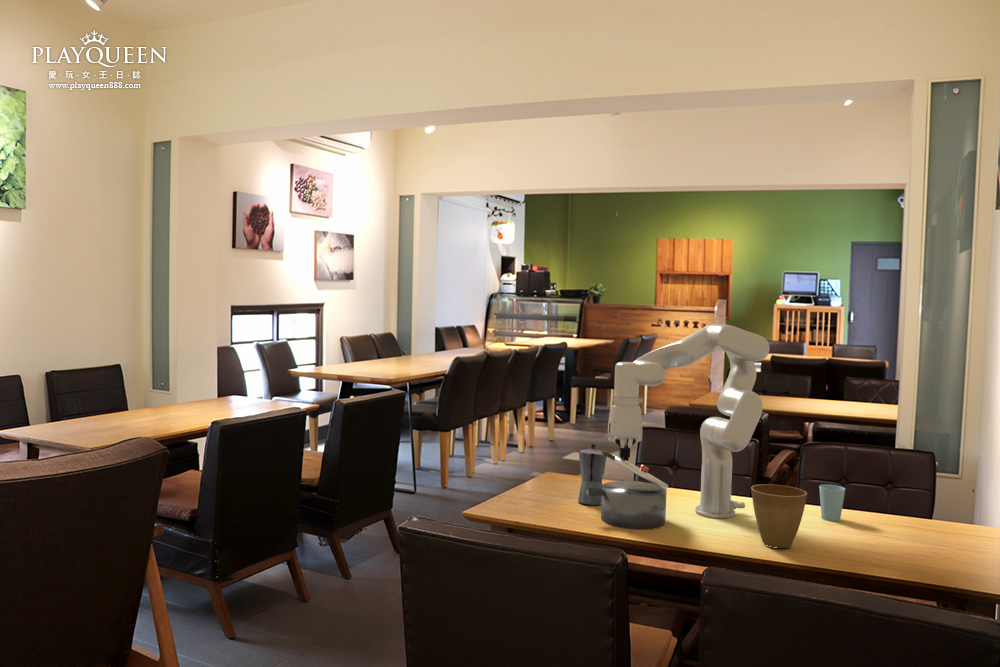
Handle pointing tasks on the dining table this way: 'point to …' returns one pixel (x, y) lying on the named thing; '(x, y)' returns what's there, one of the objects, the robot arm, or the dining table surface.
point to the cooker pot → (632, 504)
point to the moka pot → (591, 474)
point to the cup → (831, 501)
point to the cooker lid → (636, 470)
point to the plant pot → (778, 513)
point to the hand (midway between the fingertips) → (624, 459)
